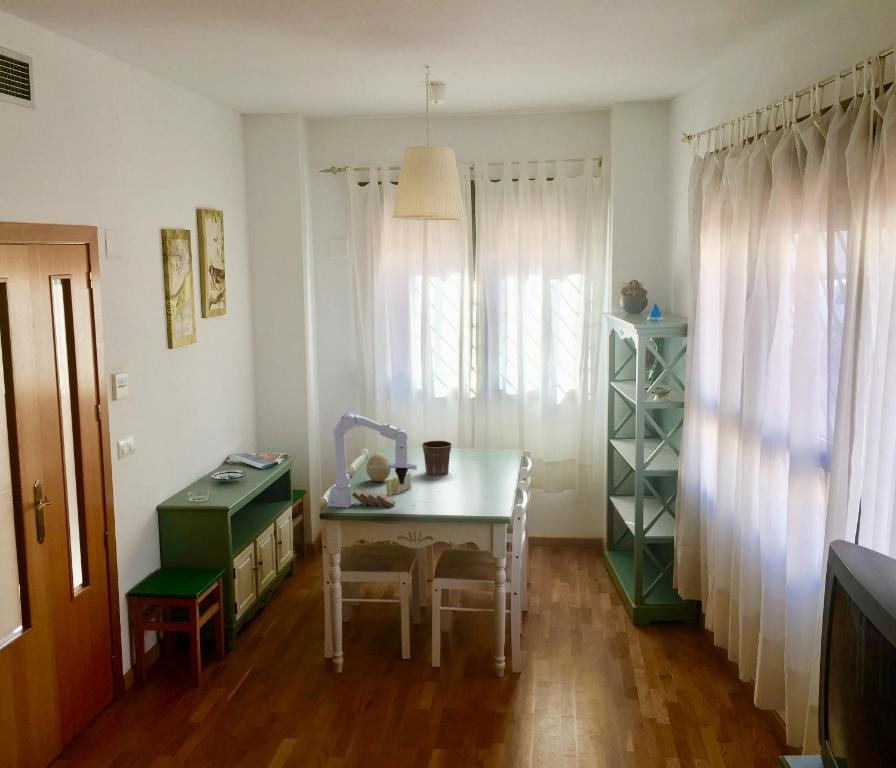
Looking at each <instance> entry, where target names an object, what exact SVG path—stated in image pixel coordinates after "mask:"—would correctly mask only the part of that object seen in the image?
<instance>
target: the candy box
mask: <svg viewBox="0 0 896 768" xmlns="http://www.w3.org/2000/svg"><path fill="white" fill-rule="evenodd" d="M411 481H412V479H411V472H407V473H406V476H405V479H404V483H403V484H400V482H399V478H398V476H397V475H396V476H393V477H389V478H386V479H385V485H386V495H387V496H388V495H390V496H393V495H392V494H394V495H396V494H395V493H397V492H400V493H402V492H401V491H403V492H405V491H404V490H406V491H408V490H407V489H409V488H411V489H412V483H411ZM409 490H410V489H409ZM397 494H398V493H397Z"/></svg>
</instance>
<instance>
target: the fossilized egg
mask: <svg viewBox="0 0 896 768" xmlns="http://www.w3.org/2000/svg"><path fill="white" fill-rule="evenodd" d="M387 463H391V462H390V461H389V459H388V458H387V456H386V455H385V454H384V453H381V452H376V453H374V454H372V455H371V456H370V458H369V459H368V460H367V463H366V466H365V467H366V468H365V469H366V474H367V476H368V477H369V479H370V480H372V481H374V482H383V481H386V479H388V477H389V476H390V474H391V471H392V470H391V469H392V468H386V464H387Z"/></svg>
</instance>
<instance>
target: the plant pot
mask: <svg viewBox="0 0 896 768" xmlns="http://www.w3.org/2000/svg"><path fill="white" fill-rule="evenodd" d="M452 446H453V444H452V442H450V441H445V440H430V441H425V442H423V443H421V447H422V451H423V454H424V455H423V456H424V467H425V474H426V475H429V476H433V475H435V477H436V476H438V477H439V476H443V475H447V474H449V471H450V469H449V468H450V458H451V457H450V455H451V451H452Z"/></svg>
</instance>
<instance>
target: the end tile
mask: <svg viewBox="0 0 896 768" xmlns="http://www.w3.org/2000/svg"><path fill="white" fill-rule="evenodd" d="M361 493H363V492H362V491H361V490H359V489H357V490H355V491H354V492H353V493H352V494H351V497H352V498H354V499H356V500H357V501H358V502H360V503H361V504H362V505H363V506H365V505H366V506H367V505H369V503H368V502H366V501H365V500H364V499H362V498H361V497H360V495H361Z"/></svg>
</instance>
